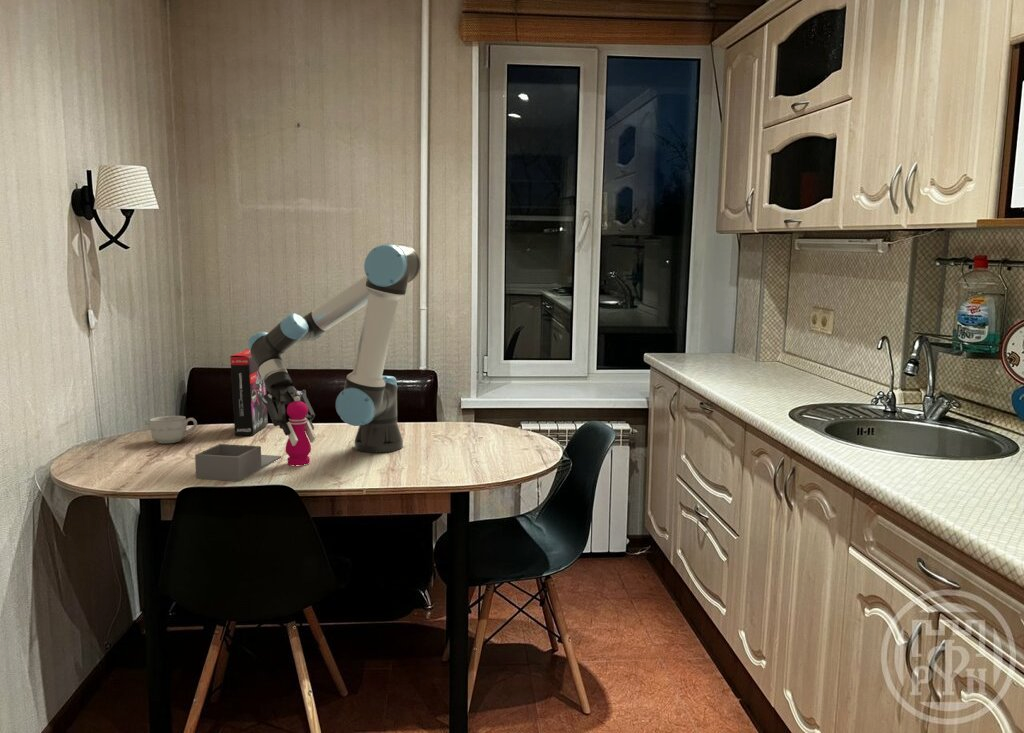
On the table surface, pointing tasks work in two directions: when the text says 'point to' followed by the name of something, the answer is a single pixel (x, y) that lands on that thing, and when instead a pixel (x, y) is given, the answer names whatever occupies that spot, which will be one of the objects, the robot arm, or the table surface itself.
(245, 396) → the graphics card box
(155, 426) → the teacup
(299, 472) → the table surface
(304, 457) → the pepper mill
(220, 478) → the box
